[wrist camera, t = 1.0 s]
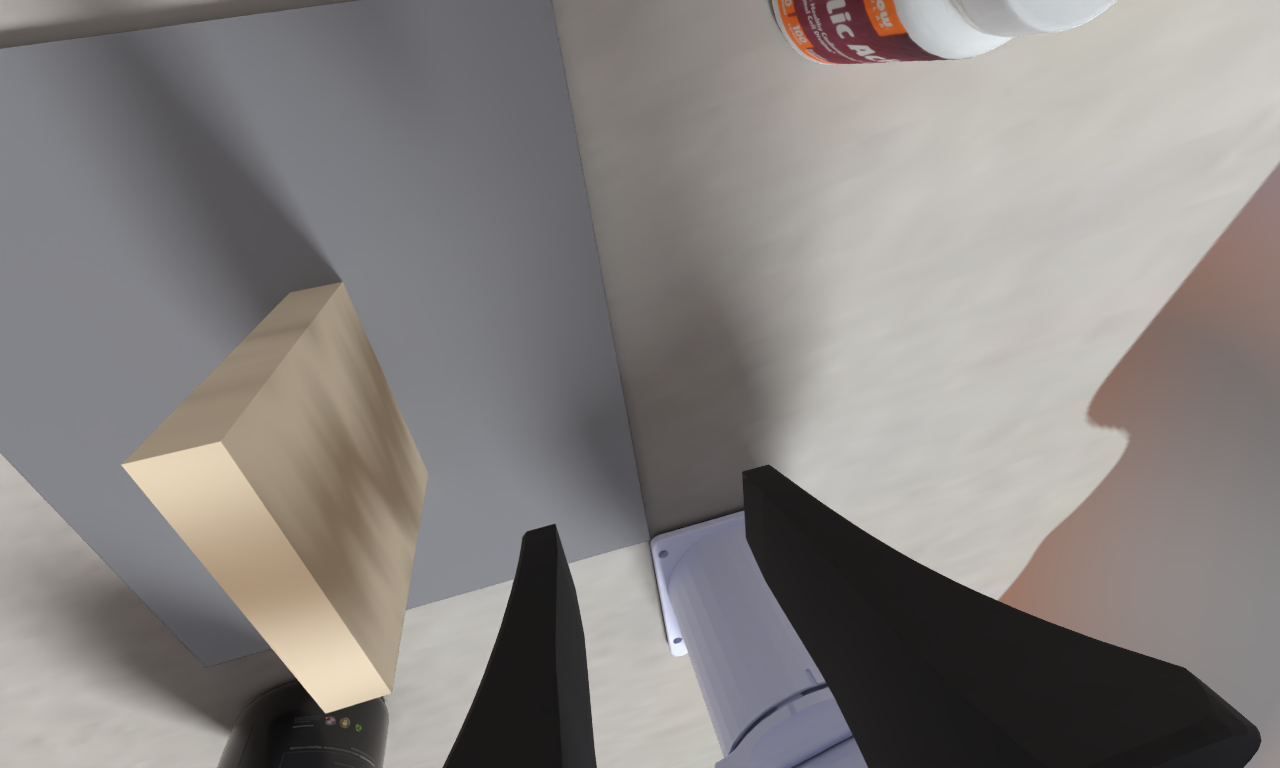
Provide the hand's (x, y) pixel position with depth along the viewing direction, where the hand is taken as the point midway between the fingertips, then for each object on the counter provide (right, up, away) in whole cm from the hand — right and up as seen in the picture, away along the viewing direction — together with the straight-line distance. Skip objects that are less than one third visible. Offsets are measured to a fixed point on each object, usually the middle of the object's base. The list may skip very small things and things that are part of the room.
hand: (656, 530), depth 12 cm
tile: (-10, +3, +7) cm, 13 cm away
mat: (-11, +3, +8) cm, 14 cm away
